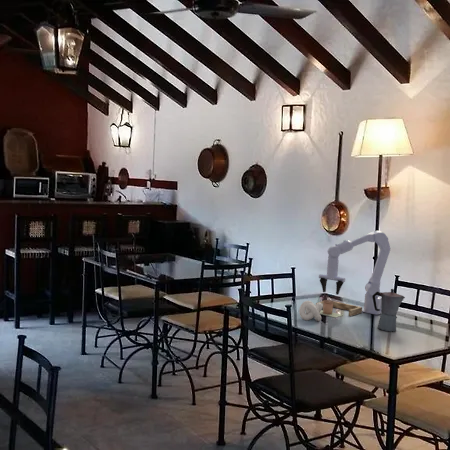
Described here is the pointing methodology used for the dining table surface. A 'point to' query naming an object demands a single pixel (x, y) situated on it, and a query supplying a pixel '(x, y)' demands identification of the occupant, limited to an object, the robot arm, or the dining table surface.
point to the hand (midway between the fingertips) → (330, 293)
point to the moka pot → (388, 309)
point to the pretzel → (310, 310)
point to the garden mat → (330, 314)
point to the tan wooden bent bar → (347, 308)
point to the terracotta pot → (327, 306)
